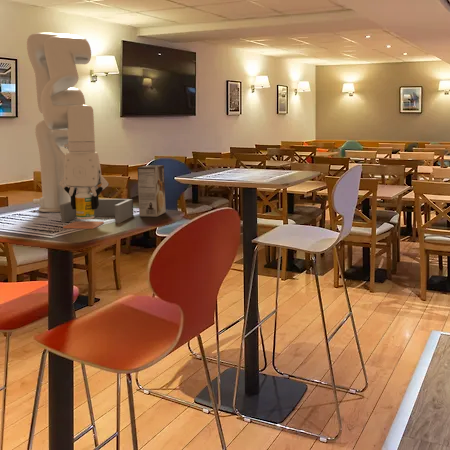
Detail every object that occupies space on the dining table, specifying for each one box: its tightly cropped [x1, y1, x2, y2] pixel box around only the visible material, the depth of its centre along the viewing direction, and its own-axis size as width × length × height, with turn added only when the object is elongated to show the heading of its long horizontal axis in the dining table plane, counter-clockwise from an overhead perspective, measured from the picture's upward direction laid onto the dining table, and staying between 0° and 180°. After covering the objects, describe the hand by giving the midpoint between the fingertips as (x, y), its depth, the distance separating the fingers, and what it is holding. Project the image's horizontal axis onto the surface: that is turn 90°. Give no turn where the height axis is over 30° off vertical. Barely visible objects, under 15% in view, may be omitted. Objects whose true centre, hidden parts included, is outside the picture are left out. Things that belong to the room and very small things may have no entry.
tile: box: [63, 220, 105, 229], centre depth 173 cm, size 9×9×1 cm
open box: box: [59, 198, 134, 224], centre depth 185 cm, size 18×15×6 cm
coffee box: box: [137, 164, 167, 218], centre depth 193 cm, size 9×6×16 cm
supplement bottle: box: [75, 187, 95, 220], centre depth 175 cm, size 5×5×10 cm
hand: (85, 208), depth 175 cm, fingers closed on supplement bottle, 5 cm apart
